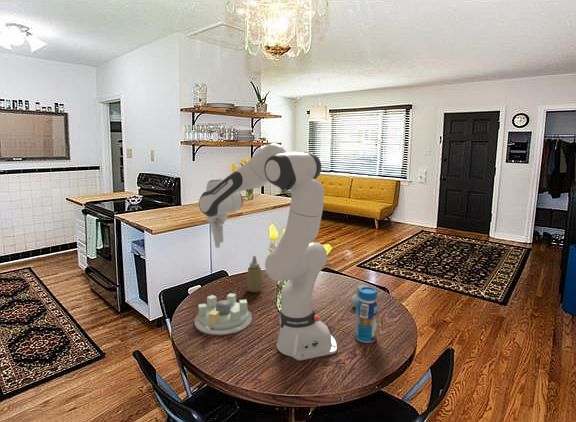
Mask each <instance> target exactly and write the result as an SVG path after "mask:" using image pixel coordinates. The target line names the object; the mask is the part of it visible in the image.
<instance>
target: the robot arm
mask: <svg viewBox="0 0 576 422" xmlns="http://www.w3.org/2000/svg"><path fill="white" fill-rule="evenodd" d="M321 162H322V161H321V160H320V157H318V155H316V154H315V153H312V152H308V151H299V152H298V151H288V152H287V151H286V149H285V148H284V147H283V146H282V145H281V144H278V143H269V144H267V145H266V146H264V147H262V148H261V149H260V150H258V151H257V152H256V153H255V154H254V155H252V156H251V158H250V159H249V160H248V161H246V162H245V164H243V165H242V166H241V167H239V168H238V169H236V170H235V171H234V172H232V173H231V174H229V175H228V176H227V177H225V178H224V179H222V178H219V179H211V180H209V181H207V183H206V187H205V188H206V189H205V191H204V192H202V194H201V196H200V197H199V200H198V207H199V210H200V211H201V212H202V213H203V214H204V215H205V216H206V221H207V222H209V225H210V229H211V232H212V237H213V242H214V246H215V248H216V249H217V248H220V246H221V245H220V244H221V243H223V242H224V227H223V225H224V224H225V222H227V220H228V213H235V212H238V211H240V210H241V208H242V207H243V202H244V200H243V199H244V198H243V195H242V194H241V192H242V191H248V190H254V189H259V188H260V189H261V188H262V187H264V186H267V184H269V183H270V184H272V185H273V186H275V187H278V188H279V189H280V190H281V191H283V192H288V191H290V195H291V200H290V205H289V210H288V216H287V217H288V218H287V223H286V227H285V230H284V232H283V235H282V236H281V239H280V240H279V242H278V244H276V247H275V248H274V249H273V250H272V251H271V252H270V253H269V254H268V255H267V256H266V258H265V260H264V269H265V270H264V271H265V273H266V275H267V276H268V277H269V278H270V279H271V280H272V281H273V282H283V281H286V283H285V285H284V286H283V287H282V289H281V292H280V293H281V294H280V295H281V296H280V297H281V299H280V304H281V305H280V307H281V308H280V310H279V326H280V327H279V333H278V337H277V338H278V339H277V342H276V349H277V350H278V351H279V352H280V353H282V354H283V355H285V356H288V357H291V358H293V359H295V361H299V362H300V361H304V360H310V359H315V358H320V357H324V356H329V355H334V354H336V353H337V351H338V345H337V344H338V343H337V341H336V339H335V338H334V336H333V335H331V333H330V330H329V327H328V326H327V325H326V323H324V322H323V321H321V318H320V315H319V314H318V313H317V311H316V310H315V309H314V308H313V307H312V302H313V301H312V300H313V291H314V288H315V284H316V281H317V279H318V276H319V274H320V272H321V270H322V269H323V267H324V266H325V265H326V264H327V261H328V253H327V250H326V247H325V246H324V245H323V244H321V243H320V242H314V240H315V239H316V238H317V236H318V234H319V231H320V226H321V221H322V220H321V219H322V215H323V211H324V199H325V189H324V184H322V183H321V181H320V180H318V179H317V178H318V177H319V176H320V174H321V173H322V163H321Z"/></svg>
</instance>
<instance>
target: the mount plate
mask: <svg viewBox="0 0 576 422" xmlns="http://www.w3.org/2000/svg"><path fill="white" fill-rule="evenodd" d="M252 321H253V316H252V313H251V312H250V310H248V318H247V320H246V321H245V322H244V323H243V324H241V325H239V326H237V327H234V328H230V329H223V330H216V329H212V326H208V325H207V326H206V327H204V326H202V325H201V324H200V323H199V320H198V314H196V315H195V318H194V322H193V323H194V327H195V329H196V330H198V331H199V332H200V333H203V334H206V335H211V336H227V335H233V334H236V333H239V332H242V331H243V330H246V329H247V328H248V327H249V326H250V325H251V324H252Z"/></svg>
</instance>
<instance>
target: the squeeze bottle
mask: <svg viewBox="0 0 576 422" xmlns="http://www.w3.org/2000/svg"><path fill="white" fill-rule="evenodd" d="M246 286H247V289H248V291H249V292H250V293H258V292H260V291H261V289H262V286H263V275H262V268H261V266H260V263H259V261H257V257H256V255H253V256H252V261H251V262H250V263H249V267H248V268H247V277H246Z"/></svg>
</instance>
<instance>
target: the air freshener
mask: <svg viewBox="0 0 576 422" xmlns="http://www.w3.org/2000/svg"><path fill="white" fill-rule="evenodd" d="M362 287H370V285H366V284H358V286H357V287H356V293H355V294H354V295H352V296H351V298H350V304H351V305H352V306H353V307H354V308H356V309H357V307H356V304H357V302H358V300H359V299H360V298H359V289H360V288H362Z"/></svg>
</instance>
